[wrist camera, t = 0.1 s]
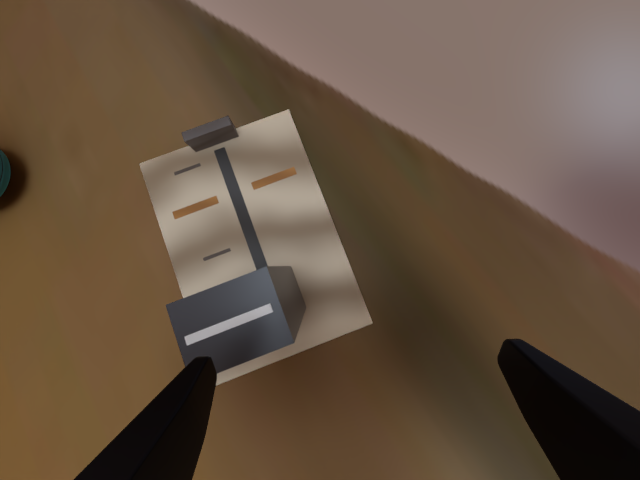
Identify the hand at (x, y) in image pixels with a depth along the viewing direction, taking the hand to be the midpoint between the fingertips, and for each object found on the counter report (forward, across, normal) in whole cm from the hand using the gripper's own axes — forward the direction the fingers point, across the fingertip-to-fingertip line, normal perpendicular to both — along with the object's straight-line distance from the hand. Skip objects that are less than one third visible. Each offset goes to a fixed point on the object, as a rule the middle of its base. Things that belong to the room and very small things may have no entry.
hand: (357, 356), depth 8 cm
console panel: (+15, +7, +4) cm, 17 cm away
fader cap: (+12, +5, +7) cm, 14 cm away
